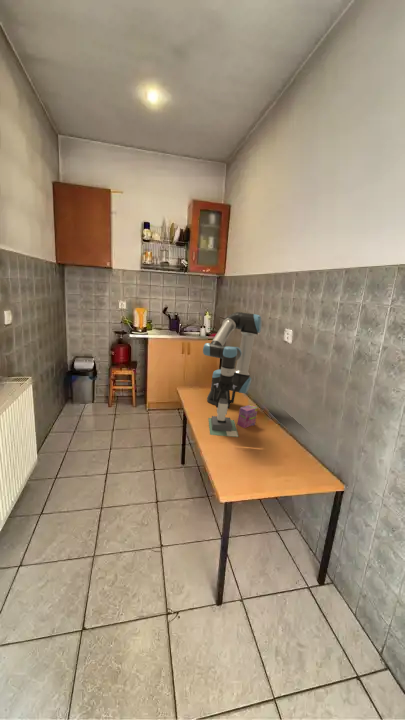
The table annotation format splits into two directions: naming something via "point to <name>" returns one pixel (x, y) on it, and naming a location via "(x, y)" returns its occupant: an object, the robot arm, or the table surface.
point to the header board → (221, 433)
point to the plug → (222, 409)
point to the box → (247, 416)
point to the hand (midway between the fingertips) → (221, 412)
